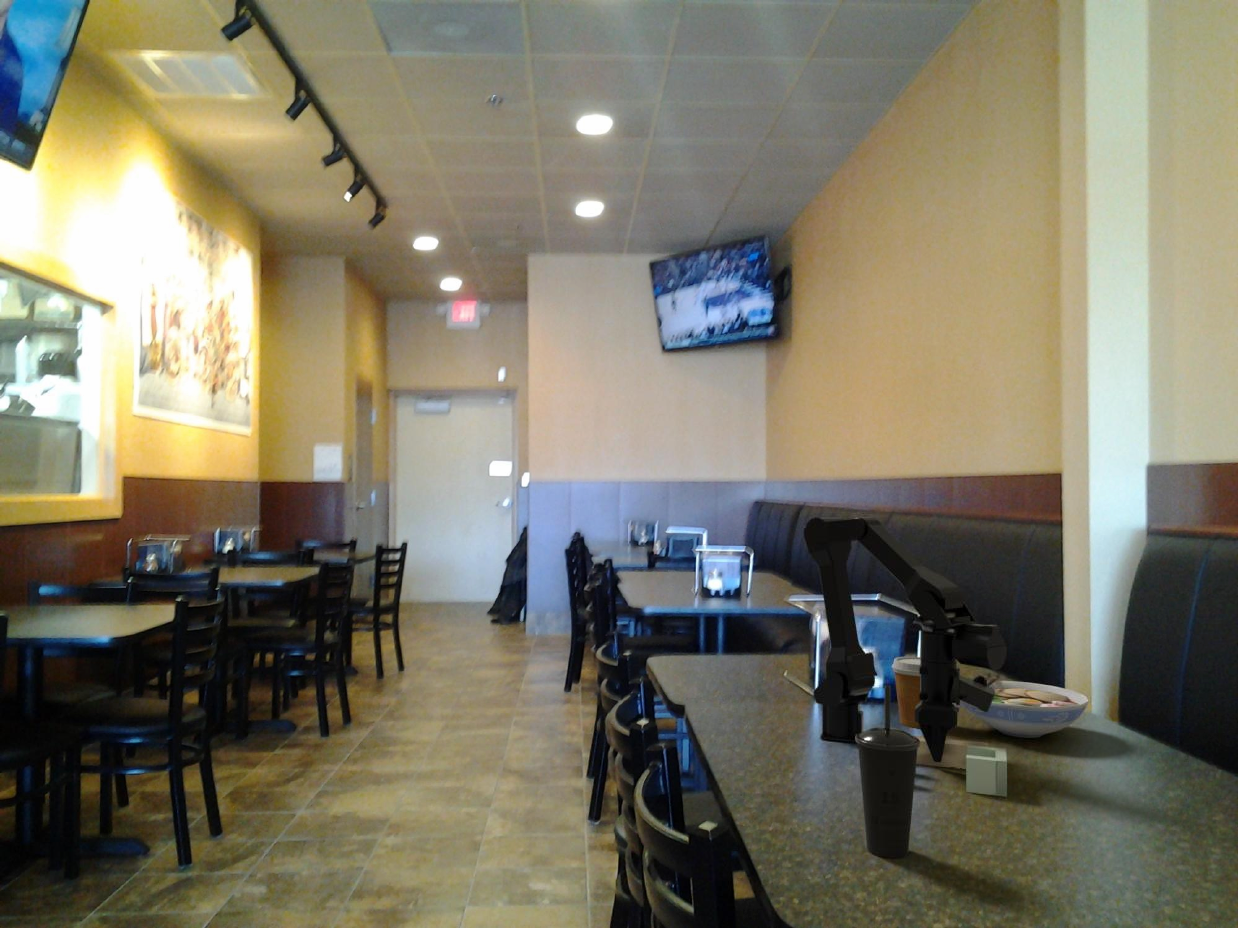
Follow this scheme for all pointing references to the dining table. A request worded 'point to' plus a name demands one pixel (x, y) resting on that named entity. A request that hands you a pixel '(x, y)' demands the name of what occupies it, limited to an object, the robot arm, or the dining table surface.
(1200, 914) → the dining table surface
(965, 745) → the slat
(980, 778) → the right end cap
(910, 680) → the disposable coffee cup
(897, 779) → the drinking cup
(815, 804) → the dining table surface
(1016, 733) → the ramen bowl
